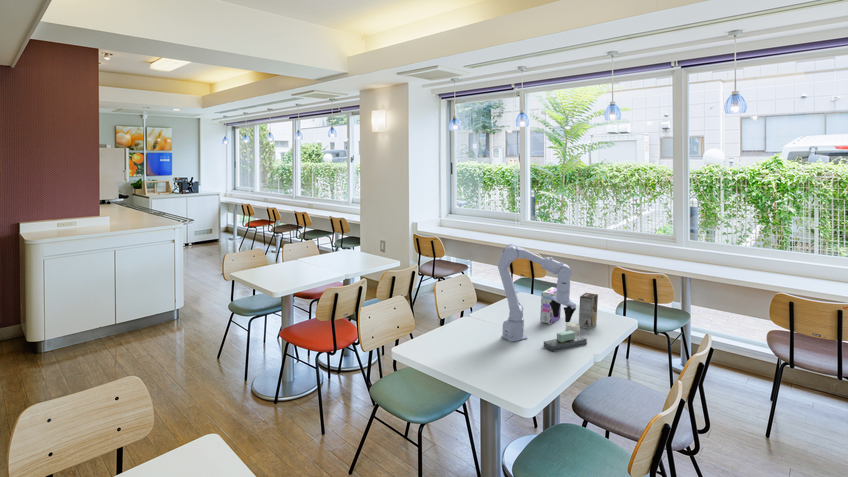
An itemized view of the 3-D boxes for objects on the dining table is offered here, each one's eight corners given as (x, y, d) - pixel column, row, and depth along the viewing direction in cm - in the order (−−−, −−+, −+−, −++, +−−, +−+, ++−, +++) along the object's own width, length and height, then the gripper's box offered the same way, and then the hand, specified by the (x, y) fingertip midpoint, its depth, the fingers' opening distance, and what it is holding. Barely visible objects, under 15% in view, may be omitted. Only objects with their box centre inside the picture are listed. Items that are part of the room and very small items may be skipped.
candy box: (550, 324, 237) (552, 293, 234) (539, 322, 240) (541, 291, 238) (560, 318, 248) (562, 288, 245) (550, 315, 251) (551, 286, 249)
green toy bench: (561, 348, 206) (561, 335, 205) (556, 345, 209) (556, 333, 208) (574, 345, 210) (575, 332, 209) (569, 342, 213) (570, 330, 212)
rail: (552, 351, 202) (552, 346, 202) (543, 346, 208) (543, 341, 207) (586, 344, 211) (586, 338, 211) (576, 339, 216) (577, 334, 216)
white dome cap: (572, 337, 219) (572, 327, 218) (562, 333, 225) (563, 323, 224) (582, 335, 222) (582, 325, 221) (572, 331, 227) (572, 321, 227)
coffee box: (584, 322, 241) (585, 292, 238) (596, 324, 237) (598, 294, 235) (578, 326, 234) (579, 296, 231) (590, 329, 230) (592, 298, 227)
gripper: (581, 293, 206) (579, 322, 208) (558, 286, 219) (557, 313, 221) (569, 295, 203) (568, 325, 205) (547, 287, 216) (545, 315, 218)
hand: (561, 319), depth 213 cm, fingers open, 7 cm apart
